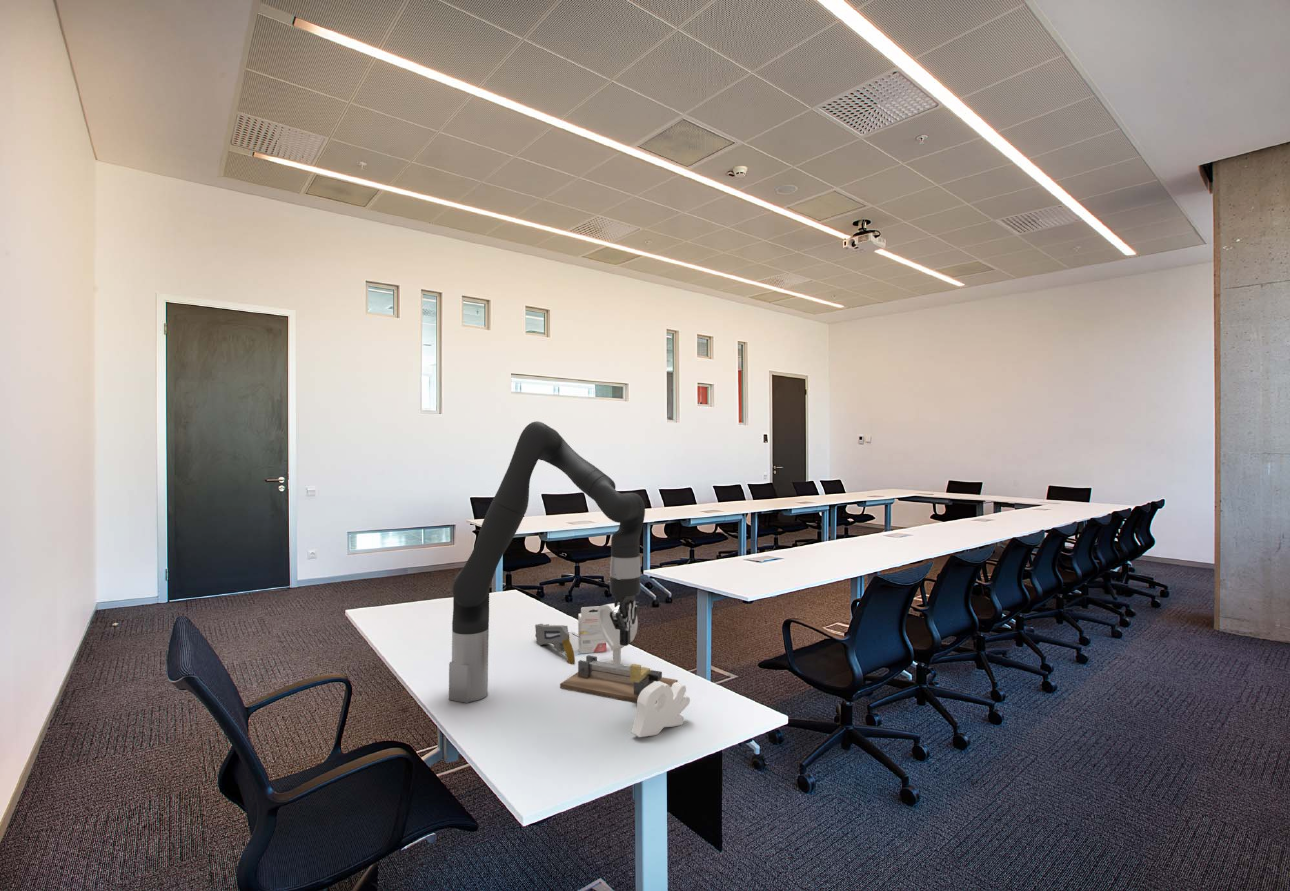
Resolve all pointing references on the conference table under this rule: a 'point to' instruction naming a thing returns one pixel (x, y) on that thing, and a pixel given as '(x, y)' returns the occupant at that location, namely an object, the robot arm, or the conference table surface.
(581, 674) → the tong frame
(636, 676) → the lock bolt
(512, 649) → the conference table surface
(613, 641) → the heart sculpture
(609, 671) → the tong arm
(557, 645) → the gun
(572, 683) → the walnut board
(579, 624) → the ink cartridge box
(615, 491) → the robot arm
